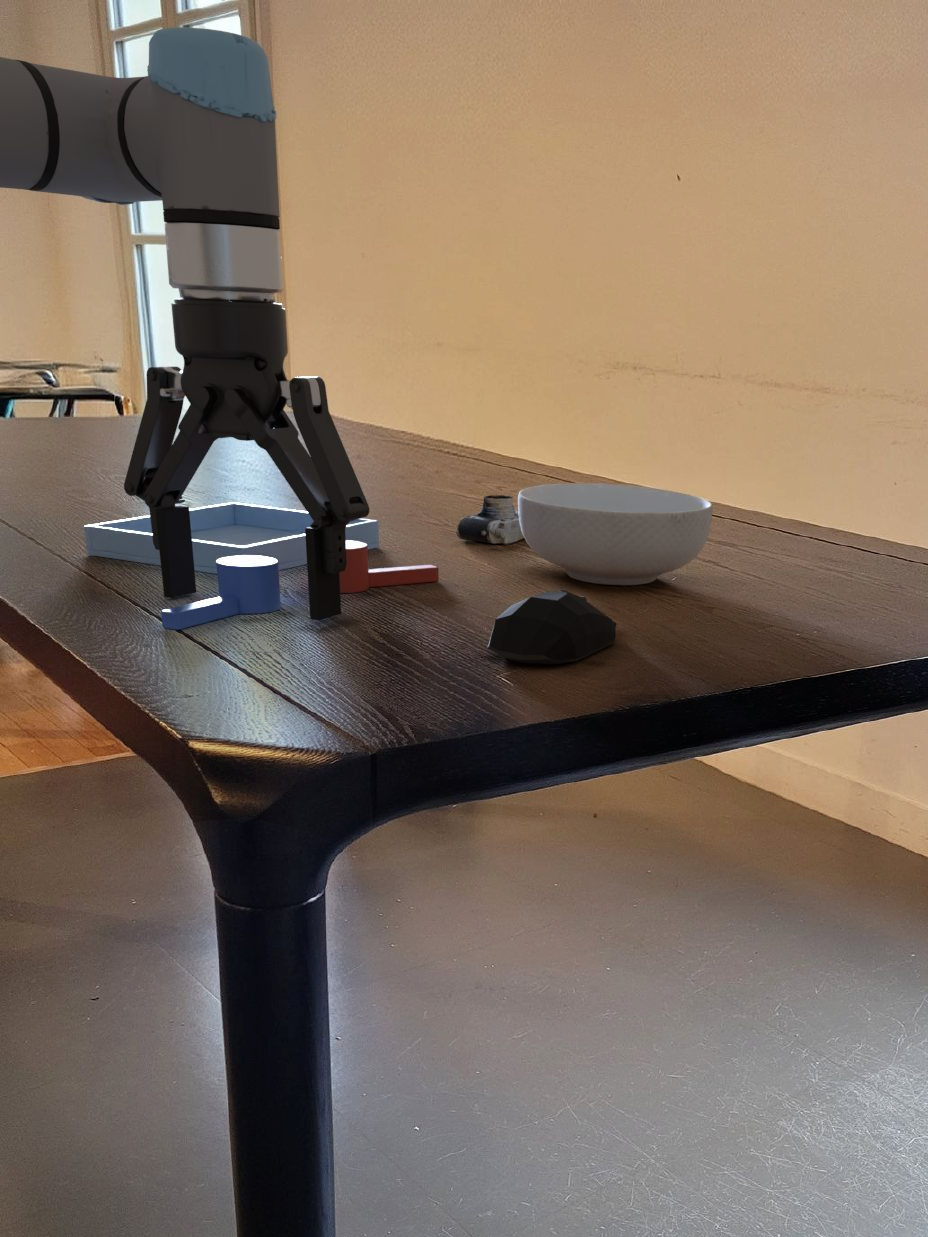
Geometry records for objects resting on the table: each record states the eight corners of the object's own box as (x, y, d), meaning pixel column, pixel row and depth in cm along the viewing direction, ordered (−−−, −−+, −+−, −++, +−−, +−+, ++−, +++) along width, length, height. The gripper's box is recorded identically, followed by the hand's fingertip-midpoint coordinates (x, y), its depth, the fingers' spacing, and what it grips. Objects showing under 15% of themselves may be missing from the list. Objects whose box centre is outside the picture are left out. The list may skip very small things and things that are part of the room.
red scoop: (327, 595, 103) (325, 550, 101) (305, 584, 106) (302, 541, 104) (447, 584, 109) (447, 542, 107) (423, 575, 112) (422, 534, 110)
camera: (552, 534, 135) (552, 493, 133) (495, 547, 126) (495, 503, 124) (511, 528, 137) (511, 488, 135) (453, 541, 128) (452, 497, 127)
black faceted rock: (651, 632, 96) (654, 578, 94) (551, 675, 84) (552, 613, 82) (577, 620, 98) (578, 567, 97) (469, 660, 86) (469, 600, 84)
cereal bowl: (551, 599, 105) (552, 510, 102) (494, 562, 119) (495, 482, 116) (739, 593, 111) (745, 508, 108) (664, 558, 125) (668, 482, 122)
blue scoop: (246, 599, 100) (243, 553, 99) (293, 606, 98) (290, 559, 97) (145, 624, 91) (140, 574, 89) (195, 633, 89) (190, 582, 88)
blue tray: (87, 554, 113) (83, 525, 112) (234, 527, 129) (232, 502, 128) (245, 578, 107) (243, 547, 106) (379, 547, 123) (378, 520, 122)
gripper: (412, 305, 88) (420, 617, 96) (128, 292, 96) (158, 578, 105) (346, 302, 81) (360, 636, 89) (48, 288, 90) (86, 593, 98)
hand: (251, 606), depth 97 cm, fingers open, 13 cm apart
